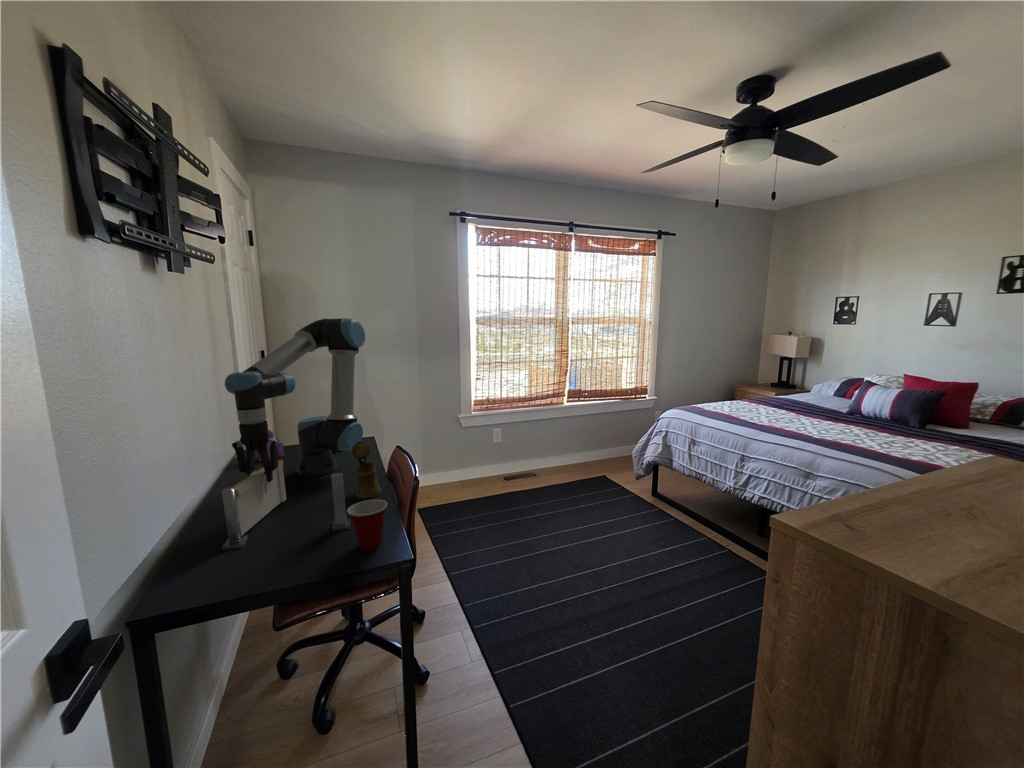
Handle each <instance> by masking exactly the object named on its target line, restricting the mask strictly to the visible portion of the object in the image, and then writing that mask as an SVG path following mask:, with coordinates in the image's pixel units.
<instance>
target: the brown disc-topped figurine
mask: <svg viewBox="0 0 1024 768" xmlns="http://www.w3.org/2000/svg"><path fill="white" fill-rule="evenodd" d="M351 451H352V455H353V456H354V458H356V459H357V460H358V465H357V467H356V471H355V475H356V486H355V487H356V488H355V492H354V493H355V494H354V496H355V497H356V498H358V499H364V500H366V499H367V500H369V499H372V498H373V499H374V498H375V497H378V496H380V495H381V493H382V490H381V486H380V484H379V479H378V475H377V467H376V466H375V463H374V462H368V461H367V457H368V456H369V454H370V448H369V445H367V444H366V443H365V442H364V441H363V442H362V441H359V442H357V443H356V444H355V445H354V446H353V449H352V450H351Z"/></svg>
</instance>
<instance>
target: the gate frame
mask: <svg viewBox="0 0 1024 768" xmlns="http://www.w3.org/2000/svg"><path fill="white" fill-rule="evenodd" d="M343 475H344V473H343V472H338V473H337V472H336V473H332V474H331V476H330V478H331V479H330V480H331V489H332V490H331V491H332V498H333V511H334V520H333V521H332V527H331V531H332V532H339V531H344V530H350V529H351V517H347V510H346V509H347V507H346V495H345V485H344V476H343ZM221 496H222V501H223V509H224V516H225V524H226V531H227V536H228V538H227V540H226V541H225V542H224V544H223V545H222V551H227V550H228V551H229V550H233V549H240V548H244V547H245V545H246V543H247V541H248V539H249V535H248V534H246V535H245V534H244V535H242V536H241V532H240V524H239V517H238V510H237V503H236V495H235V488H234V487H233V486H228V487H225V488H223V489H221Z"/></svg>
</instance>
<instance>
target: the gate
mask: <svg viewBox="0 0 1024 768" xmlns="http://www.w3.org/2000/svg"><path fill="white" fill-rule="evenodd" d="M283 466H284V460H283V459H278V468H276V469H275V470H274V471H272V474H273V480H272V481H271V487H272V489H271V490H270V491H269V492H268V493H265V488H264V481H263V473H264V472H265V470H264V467H263V466H262V467H261V468H259V469H258V470H255V471H256V472H255V473H253V474H252V475H250V476H249V477H247V476H246V478H244V479H242V480H241V481H239V482H238V483H236V484H234V485H233V486H232V487H234V488H235V495H236V503H237V510H238V517H239V524H240V532H241V536H244V535H245V533H247V532H248V531H249V530H250V529H251V528H253V527H254V526H255V525H256V524H257V523H259V521H261V520H262V519H263V518H265V516H267V515H268V514H269V513H270V512H271V511H273V509H275V508H276V507H277V506H278V505H280V504H281V503H284V502H285V501H286V500H287V493H286V483H285V474H284V467H283Z"/></svg>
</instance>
